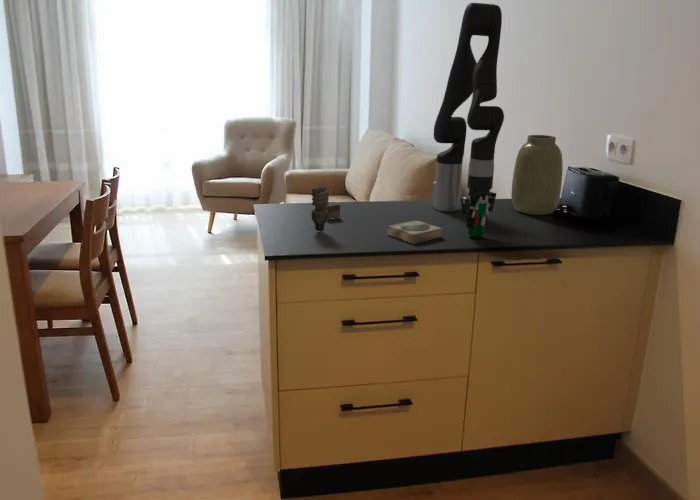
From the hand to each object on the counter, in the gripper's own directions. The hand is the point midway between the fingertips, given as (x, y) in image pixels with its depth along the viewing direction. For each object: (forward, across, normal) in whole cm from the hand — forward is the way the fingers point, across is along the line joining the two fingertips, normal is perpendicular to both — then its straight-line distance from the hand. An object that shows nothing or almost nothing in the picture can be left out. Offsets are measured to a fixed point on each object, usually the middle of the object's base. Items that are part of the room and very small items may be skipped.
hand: (476, 226), depth 195 cm
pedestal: (+3, +15, -12) cm, 19 cm away
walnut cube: (-1, +24, -45) cm, 51 cm away
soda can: (+3, 0, 0) cm, 3 cm away
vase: (+4, -44, -11) cm, 45 cm away
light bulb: (+4, +37, -32) cm, 49 cm away
